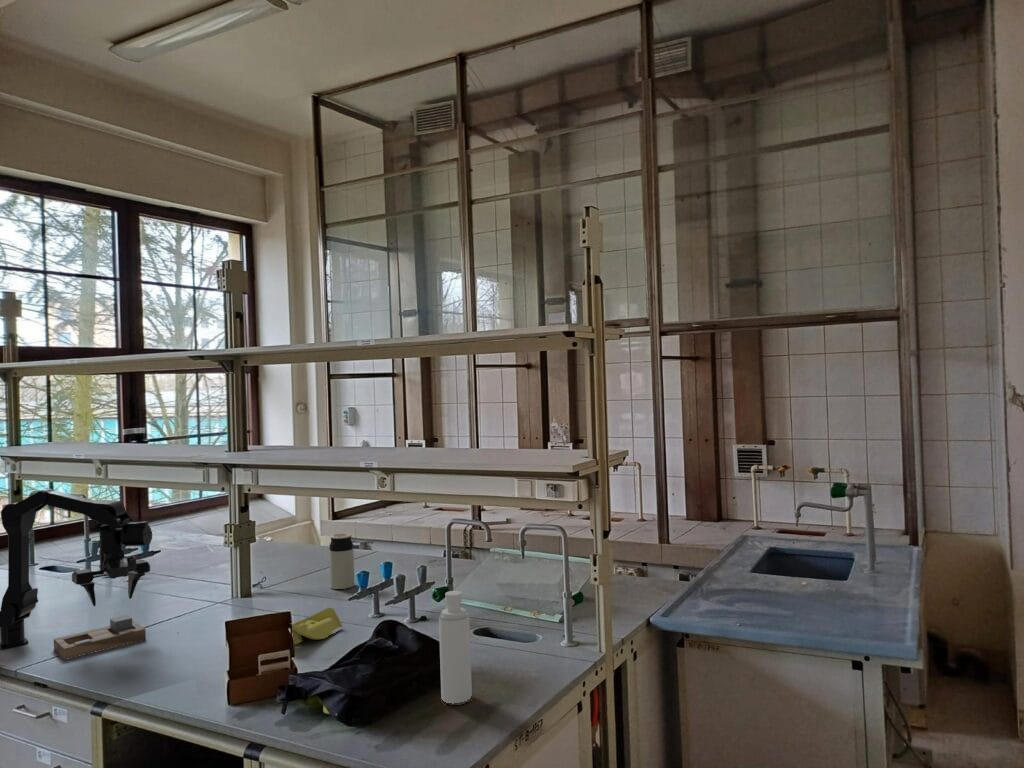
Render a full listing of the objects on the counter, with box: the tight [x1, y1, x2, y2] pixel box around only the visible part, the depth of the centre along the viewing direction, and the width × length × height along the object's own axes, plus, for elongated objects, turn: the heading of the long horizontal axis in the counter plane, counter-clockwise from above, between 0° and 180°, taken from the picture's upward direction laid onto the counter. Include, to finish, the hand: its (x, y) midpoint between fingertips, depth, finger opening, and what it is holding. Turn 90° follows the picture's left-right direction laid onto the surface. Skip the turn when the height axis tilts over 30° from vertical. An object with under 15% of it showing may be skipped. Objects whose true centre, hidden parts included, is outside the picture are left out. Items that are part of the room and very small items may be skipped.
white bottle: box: [438, 590, 473, 704], centre depth 161 cm, size 7×7×25 cm
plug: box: [109, 614, 133, 634], centre depth 207 cm, size 4×4×6 cm
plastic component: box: [291, 607, 343, 646], centre depth 203 cm, size 20×7×10 cm
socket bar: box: [53, 620, 147, 660], centre depth 203 cm, size 11×20×3 cm, turn 134°
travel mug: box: [329, 532, 355, 590], centre depth 253 cm, size 8×8×18 cm
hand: (112, 602), depth 206 cm, fingers open, 9 cm apart
